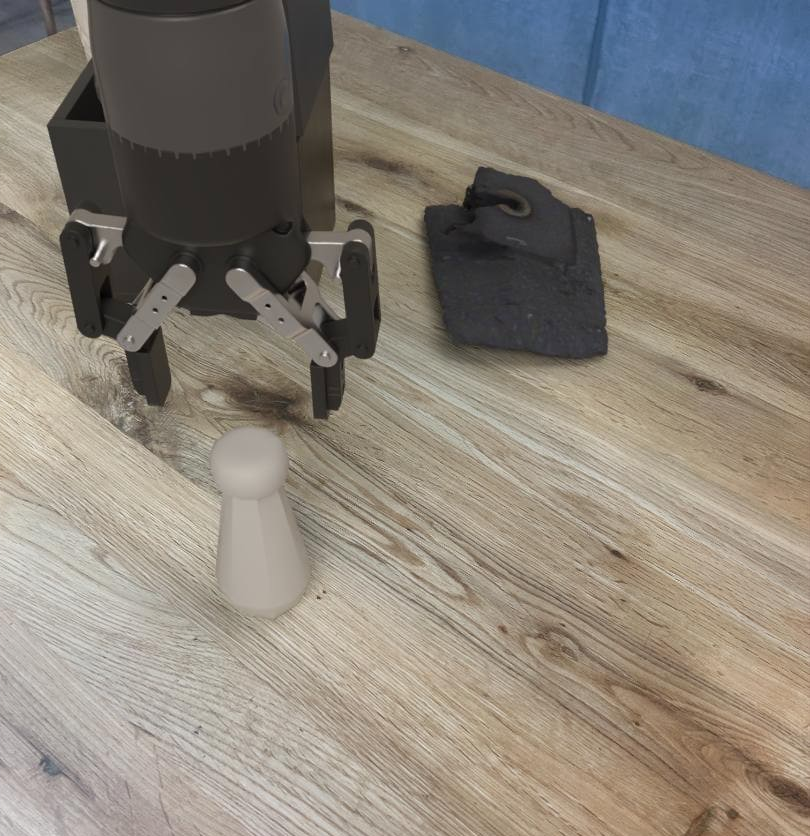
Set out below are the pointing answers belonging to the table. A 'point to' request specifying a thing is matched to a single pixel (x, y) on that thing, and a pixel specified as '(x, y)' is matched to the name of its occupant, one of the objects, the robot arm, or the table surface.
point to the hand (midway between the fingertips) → (241, 402)
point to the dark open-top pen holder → (97, 182)
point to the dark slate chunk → (518, 269)
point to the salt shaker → (257, 524)
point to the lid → (307, 52)
